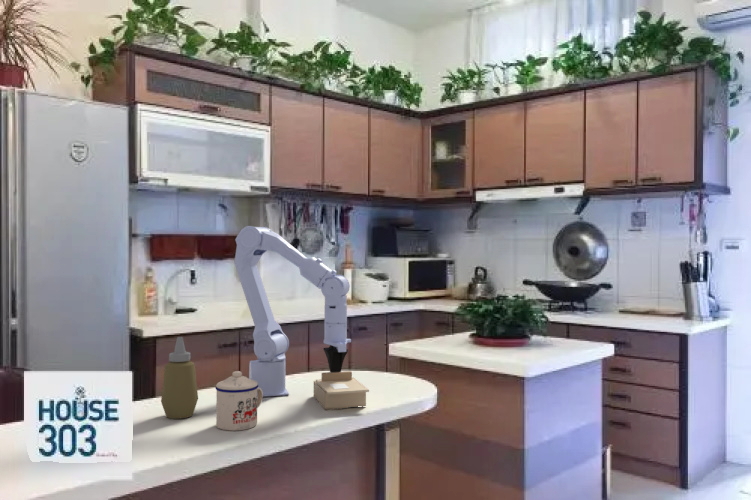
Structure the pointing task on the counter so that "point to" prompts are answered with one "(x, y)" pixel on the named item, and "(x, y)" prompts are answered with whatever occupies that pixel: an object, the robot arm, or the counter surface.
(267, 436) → the counter surface
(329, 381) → the lid
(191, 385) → the squeeze bottle
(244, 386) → the teacup with lid
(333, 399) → the box
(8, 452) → the counter surface
